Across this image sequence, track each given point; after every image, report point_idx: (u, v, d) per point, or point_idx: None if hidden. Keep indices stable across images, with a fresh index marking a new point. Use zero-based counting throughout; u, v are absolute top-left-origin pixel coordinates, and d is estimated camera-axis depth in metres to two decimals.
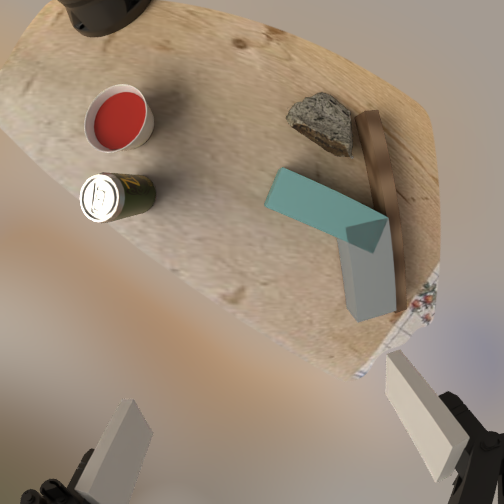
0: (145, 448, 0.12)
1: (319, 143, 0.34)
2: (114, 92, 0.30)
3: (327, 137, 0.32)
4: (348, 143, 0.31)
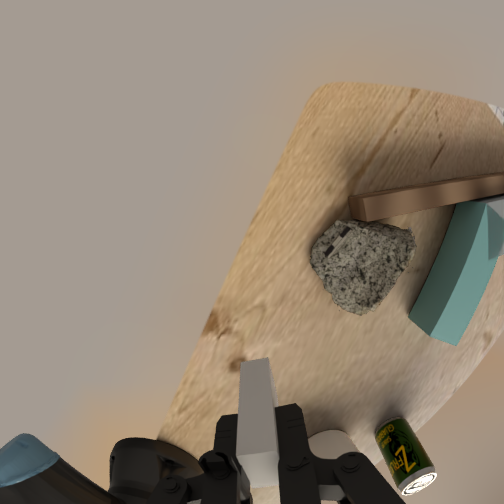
0: None
1: None
2: None
3: (399, 275, 0.23)
4: (410, 249, 0.22)
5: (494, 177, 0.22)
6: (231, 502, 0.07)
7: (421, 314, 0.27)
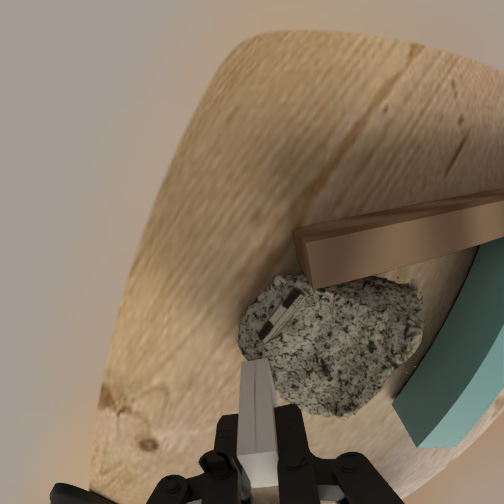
0: None
1: None
2: None
3: (390, 374, 0.12)
4: (413, 334, 0.11)
5: None
6: (232, 502, 0.07)
7: (411, 408, 0.16)
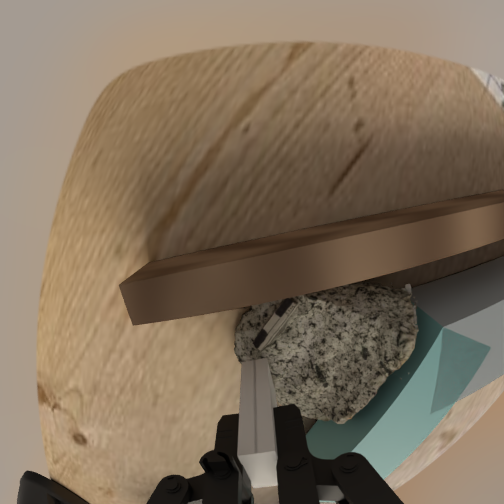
0: None
1: None
2: None
3: (384, 379, 0.12)
4: (406, 341, 0.11)
5: (477, 210, 0.11)
6: (232, 502, 0.07)
7: None
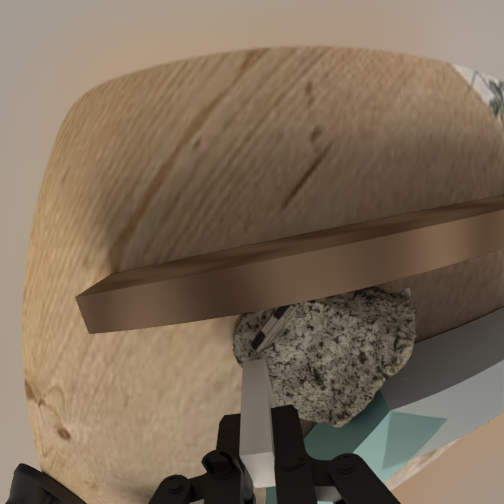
0: None
1: None
2: None
3: (381, 384, 0.12)
4: (403, 346, 0.11)
5: (443, 225, 0.11)
6: (234, 502, 0.06)
7: (272, 491, 0.17)
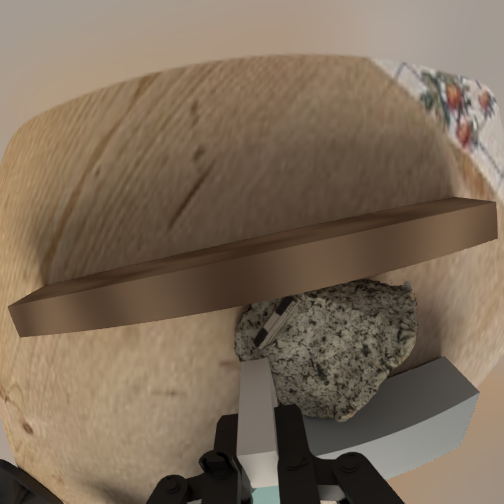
0: None
1: None
2: None
3: (385, 376, 0.12)
4: (406, 337, 0.11)
5: (315, 244, 0.12)
6: (231, 502, 0.07)
7: None
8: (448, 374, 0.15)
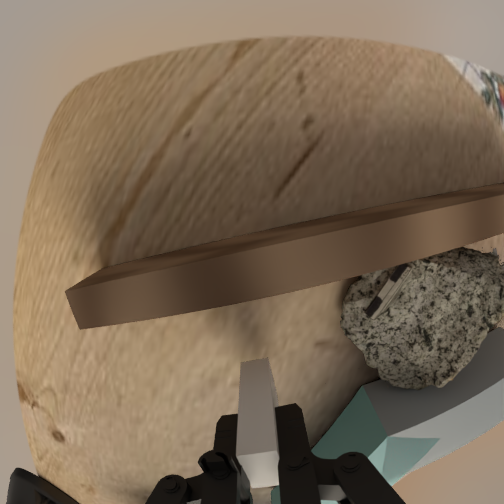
0: None
1: None
2: None
3: (485, 334, 0.11)
4: None
5: (439, 211, 0.11)
6: (231, 502, 0.07)
7: (277, 502, 0.18)
8: None
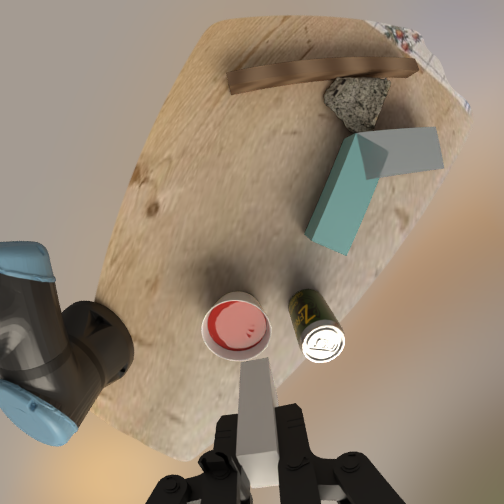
0: None
1: None
2: (207, 332, 0.38)
3: (384, 99, 0.31)
4: (386, 81, 0.30)
5: (353, 57, 0.31)
6: (231, 502, 0.07)
7: (310, 228, 0.38)
8: None
